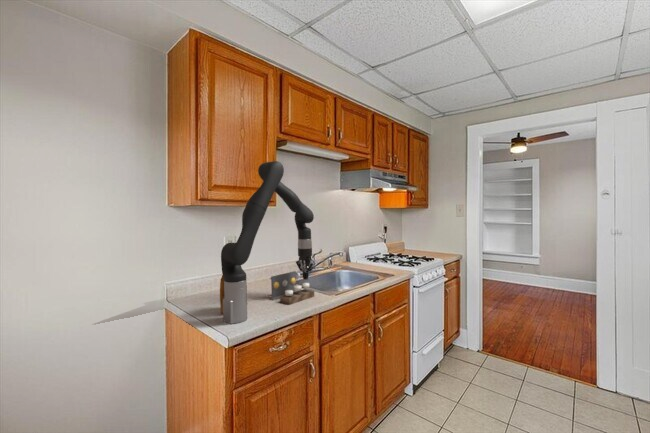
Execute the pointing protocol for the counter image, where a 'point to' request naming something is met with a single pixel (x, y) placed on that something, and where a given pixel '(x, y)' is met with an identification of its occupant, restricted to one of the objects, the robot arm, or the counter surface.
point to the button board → (297, 296)
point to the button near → (289, 292)
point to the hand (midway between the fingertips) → (305, 279)
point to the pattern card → (282, 284)
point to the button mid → (297, 287)
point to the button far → (305, 285)
